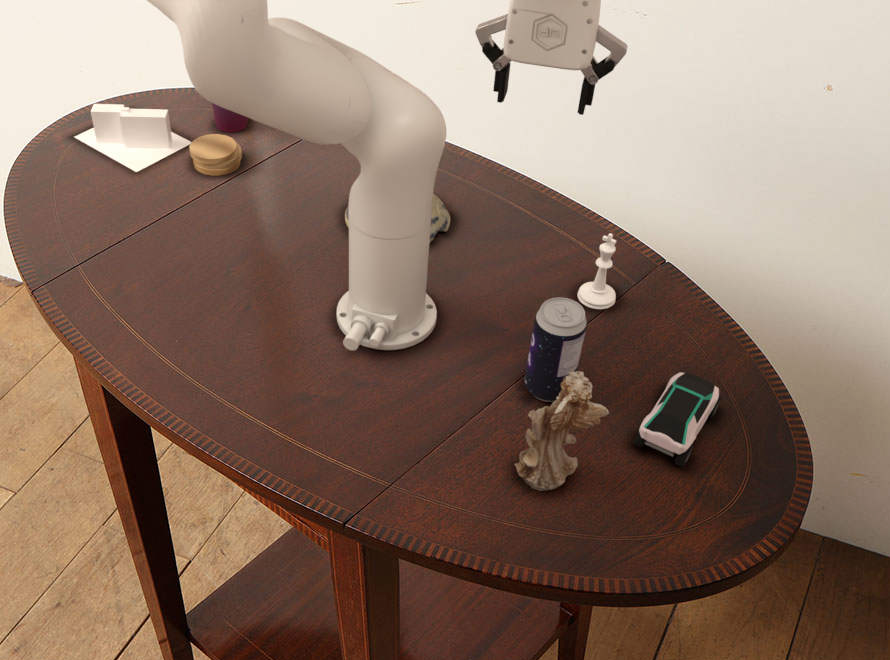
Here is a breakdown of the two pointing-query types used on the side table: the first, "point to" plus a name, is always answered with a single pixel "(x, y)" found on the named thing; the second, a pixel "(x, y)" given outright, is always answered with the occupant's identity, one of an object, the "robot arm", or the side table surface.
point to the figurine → (558, 433)
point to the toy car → (679, 416)
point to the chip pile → (215, 154)
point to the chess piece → (600, 279)
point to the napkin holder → (132, 135)
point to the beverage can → (554, 347)
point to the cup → (229, 119)
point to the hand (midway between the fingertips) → (541, 103)
